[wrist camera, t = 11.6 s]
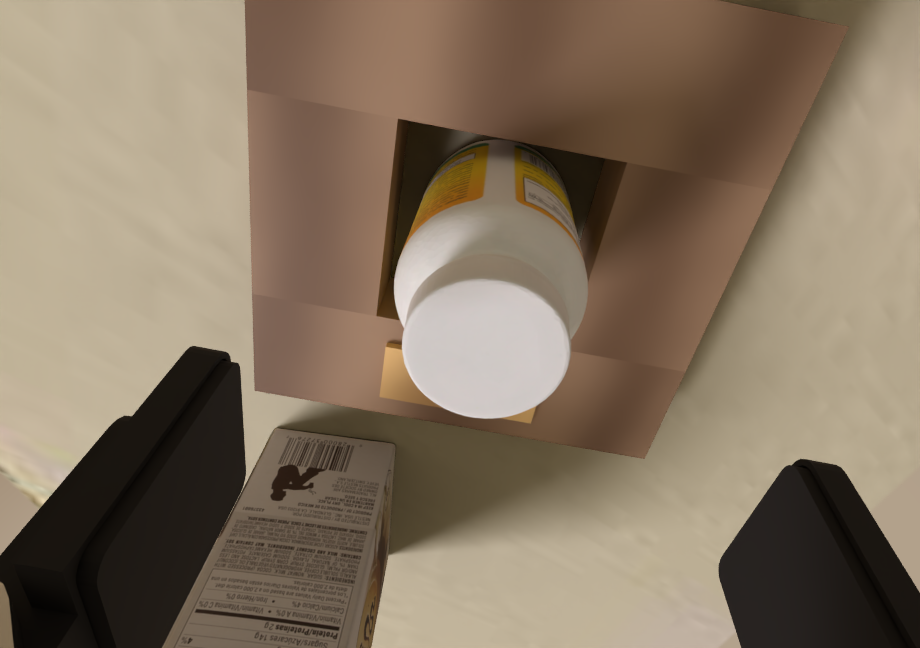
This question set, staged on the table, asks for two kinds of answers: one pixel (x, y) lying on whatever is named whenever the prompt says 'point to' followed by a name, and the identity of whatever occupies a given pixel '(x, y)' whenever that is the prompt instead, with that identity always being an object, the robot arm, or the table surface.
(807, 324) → the table surface
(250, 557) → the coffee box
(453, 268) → the supplement bottle
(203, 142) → the table surface
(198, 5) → the table surface
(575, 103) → the socket block
